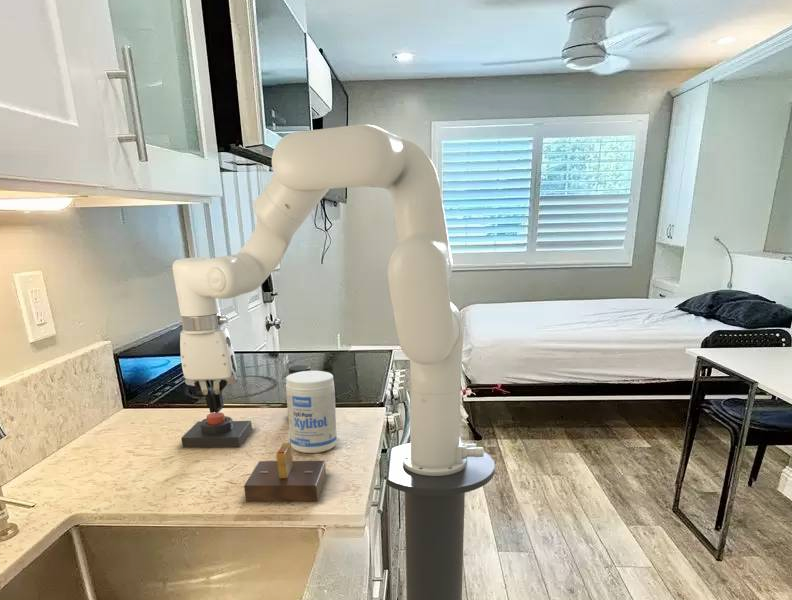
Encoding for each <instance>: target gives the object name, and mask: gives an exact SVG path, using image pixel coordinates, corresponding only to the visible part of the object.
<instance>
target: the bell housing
mask: <svg viewBox="0 0 792 600" xmlns="http://www.w3.org/2000/svg"><path fill="white" fill-rule="evenodd" d="M224 417H225V422H224V423H221V424H215V425H210V424H208V423H207V417H206V418H204V419H202V420H201V421H197V422H196V423H194V425H193V426H192V427H190V428H189V430H188V431H186V432H185V433H184V434H183V435H182V436H181V438H180V440H181V447H182V448H185V449H186V448H190V449H192V448H241V446H242V445H243V443H244V442H245V440H246V439H247V438H248V437H249V435H250V434H251V433H252V431H253V425H252V424H253V423H252V420H233V418H232V417H231V416H226V415H224Z"/></svg>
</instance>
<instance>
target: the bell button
mask: <svg viewBox="0 0 792 600" xmlns="http://www.w3.org/2000/svg"><path fill="white" fill-rule="evenodd" d="M224 416H225V414H224V413H223V412H218V413H215V412H213V413H209V414H207V415H206V418H207V423H208V424H210V425H215V424H221V423H224V422H225V417H224Z"/></svg>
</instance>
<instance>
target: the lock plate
mask: <svg viewBox="0 0 792 600" xmlns="http://www.w3.org/2000/svg"><path fill="white" fill-rule="evenodd" d="M292 461H293V467H292V469H291V471H290V473H289V475H288V477H287V478H279V473H278V464H277V460H266V461H265V460H260V461H258V463H257V464H256V466H255V467H254V468H253V470H252V472H251V474H250V476H249V477H248V479H247V480H246V481H245V484H244V485H243V488H244V494H245V501H246V503H247V502H248V503H249V502H251V503H253V502H255V503H256V502H260V503H261V502H262V503H263V502H266V503H267V502H268V503H269V502H271V503H272V502H318V501H319V498H320V495H321V492H322V489H323V486H324V483H325V480H326V477H327V468H326V461H325V460H292Z"/></svg>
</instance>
